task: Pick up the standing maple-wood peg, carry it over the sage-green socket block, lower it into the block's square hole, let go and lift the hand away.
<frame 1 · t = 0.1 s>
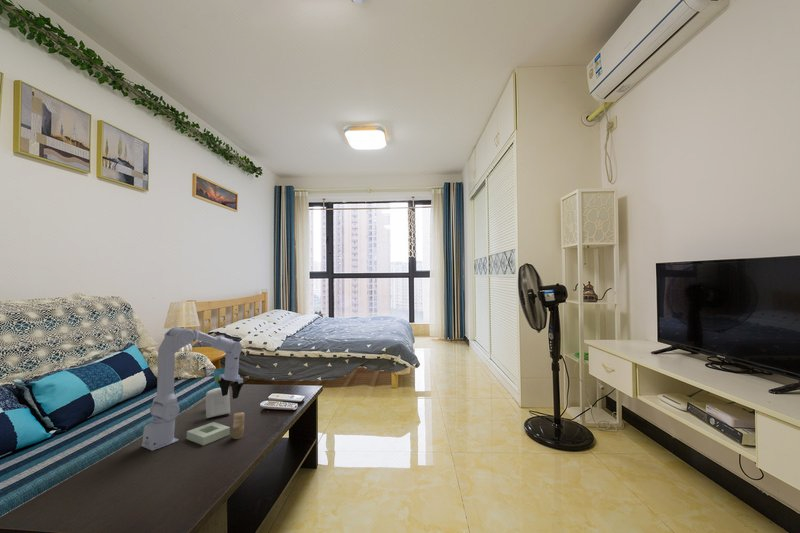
hand: (230, 396, 153), 10 cm above the table, tool pointing down, fingers open, 7 cm apart
peg: (237, 436, 134), on the table
tube: (220, 407, 168), on the table
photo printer: (218, 416, 154), on the table
socket: (208, 436, 134), on the table
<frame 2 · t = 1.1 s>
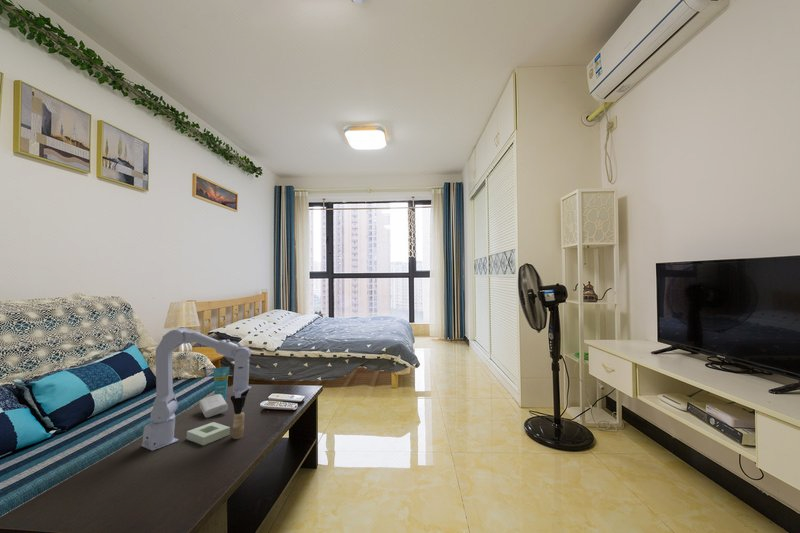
hand: (239, 410, 135), 10 cm above the table, tool pointing down, fingers open, 7 cm apart
tube: (220, 406, 168), on the table, touching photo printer
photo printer: (217, 411, 155), point 2 cm above the table, touching tube
everything else where it was.
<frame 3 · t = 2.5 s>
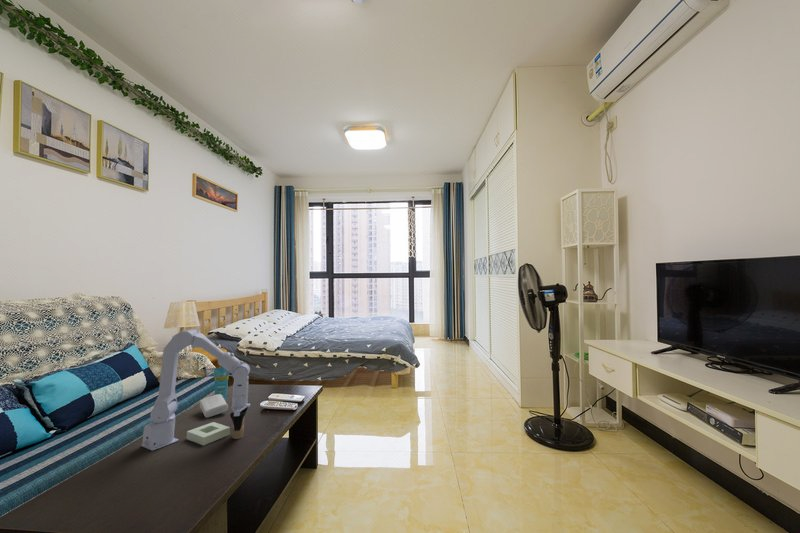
hand: (238, 428, 135), 3 cm above the table, tool pointing down, fingers closed on peg, 4 cm apart
peg: (237, 436, 134), on the table, touching gripper
everything else where it was.
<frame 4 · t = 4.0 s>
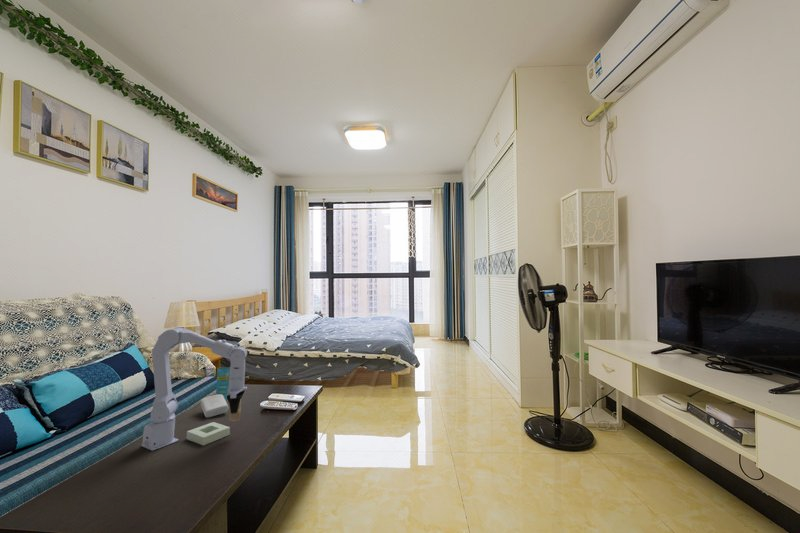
hand: (235, 410, 135), 10 cm above the table, tool pointing down, fingers closed on peg, 4 cm apart
peg: (234, 419, 135), point 7 cm above the table, touching gripper
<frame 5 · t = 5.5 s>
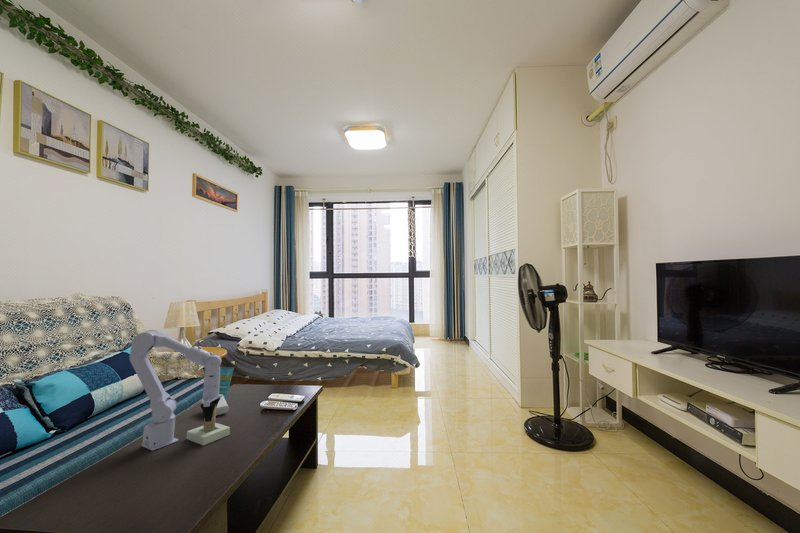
hand: (209, 419, 134), 7 cm above the table, tool pointing down, fingers closed on peg, 4 cm apart
peg: (209, 427, 134), point 4 cm above the table, touching gripper
when the fingers open (4 cm above the table, at t = 6.5 s): peg stays where it is, resting in socket.
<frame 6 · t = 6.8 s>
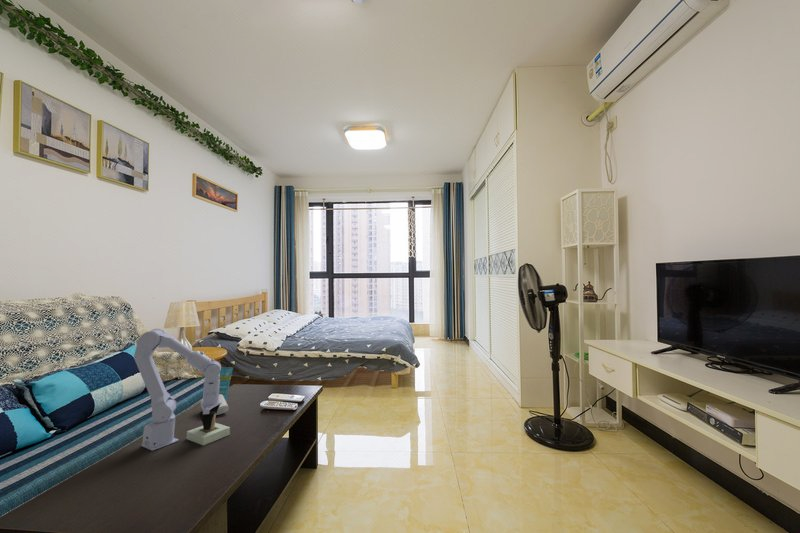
hand: (209, 426, 134), 4 cm above the table, tool pointing down, fingers open, 6 cm apart
peg: (208, 436, 134), resting in socket
everything else where it was.
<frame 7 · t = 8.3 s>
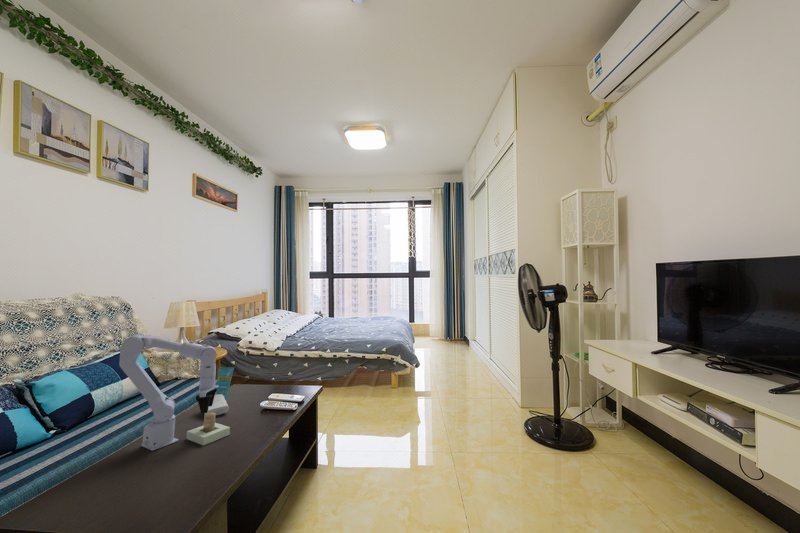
hand: (206, 409, 136), 10 cm above the table, tool pointing down, fingers open, 7 cm apart
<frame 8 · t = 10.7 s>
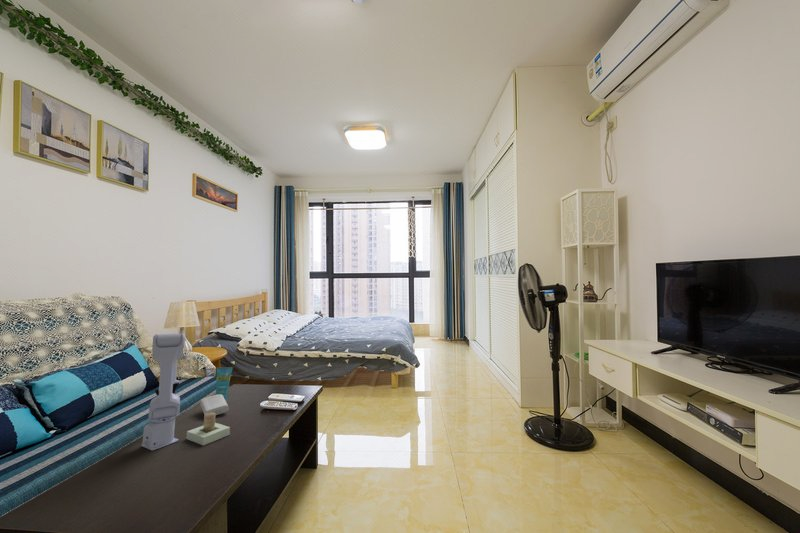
hand: (166, 403, 142), 10 cm above the table, tool pointing down, fingers open, 7 cm apart
nothing on the table moved.
at the end: peg 0.1 cm off-centre on the socket, point 0.0 cm above the socket's base; peg tilted 0°; the gripper is holding nothing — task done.
